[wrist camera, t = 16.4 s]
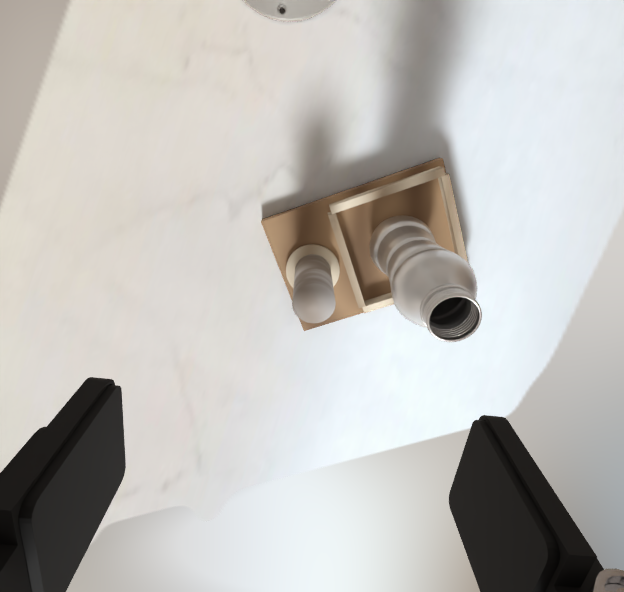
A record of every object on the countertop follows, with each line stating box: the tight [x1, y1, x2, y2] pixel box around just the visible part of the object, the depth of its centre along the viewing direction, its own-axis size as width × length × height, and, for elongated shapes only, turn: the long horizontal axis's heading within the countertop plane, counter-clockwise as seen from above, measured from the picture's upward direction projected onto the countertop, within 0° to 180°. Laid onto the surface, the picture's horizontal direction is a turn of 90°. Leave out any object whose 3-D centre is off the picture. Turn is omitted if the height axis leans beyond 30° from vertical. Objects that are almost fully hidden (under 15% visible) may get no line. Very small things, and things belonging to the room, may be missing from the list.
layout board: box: [261, 158, 468, 331], centre depth 44 cm, size 20×14×11 cm
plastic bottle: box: [370, 215, 482, 342], centre depth 38 cm, size 6×7×20 cm
